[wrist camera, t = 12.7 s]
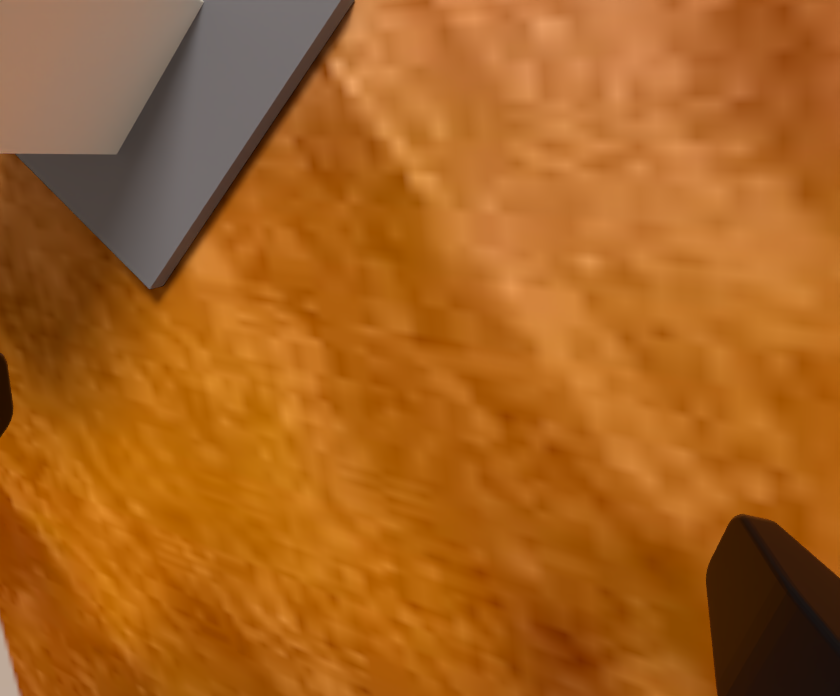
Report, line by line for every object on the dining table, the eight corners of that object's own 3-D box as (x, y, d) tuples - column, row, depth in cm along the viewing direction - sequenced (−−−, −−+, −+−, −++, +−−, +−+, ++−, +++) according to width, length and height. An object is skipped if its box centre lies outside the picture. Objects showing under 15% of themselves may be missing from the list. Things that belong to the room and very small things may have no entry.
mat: (354, -1, 17) (344, -6, 16) (162, 286, 21) (149, 289, 20) (51, -289, 18) (31, -303, 17) (-80, 43, 22) (-98, 40, 21)
